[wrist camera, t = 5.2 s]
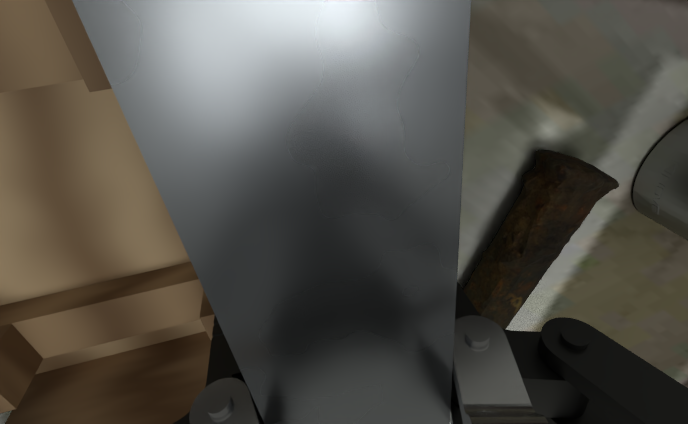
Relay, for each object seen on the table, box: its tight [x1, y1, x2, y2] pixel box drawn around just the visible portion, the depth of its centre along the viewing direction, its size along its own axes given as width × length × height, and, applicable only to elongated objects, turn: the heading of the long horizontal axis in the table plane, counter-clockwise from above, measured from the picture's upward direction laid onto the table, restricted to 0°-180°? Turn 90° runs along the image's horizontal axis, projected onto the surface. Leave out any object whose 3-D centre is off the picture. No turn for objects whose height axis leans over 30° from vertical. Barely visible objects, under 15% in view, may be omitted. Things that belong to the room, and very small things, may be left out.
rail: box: [72, 0, 471, 424], centre depth 11 cm, size 4×17×6 cm, turn 7°
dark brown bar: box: [463, 150, 619, 329], centre depth 28 cm, size 23×5×6 cm, turn 158°
